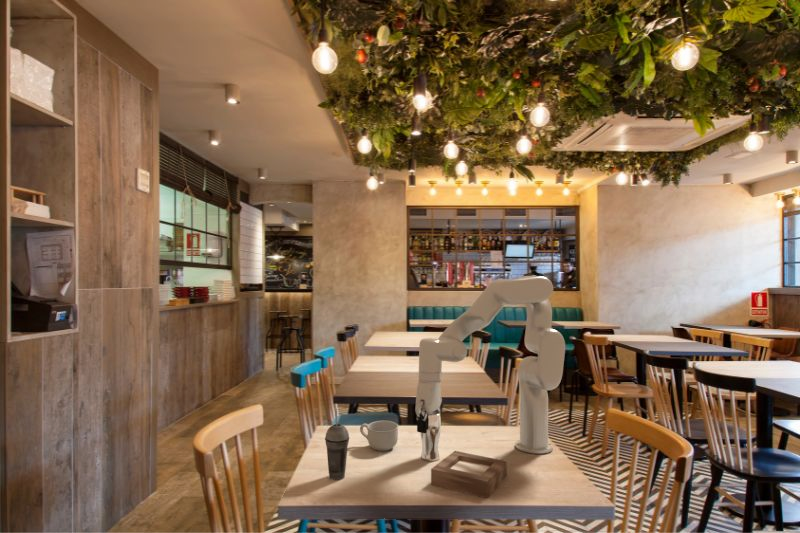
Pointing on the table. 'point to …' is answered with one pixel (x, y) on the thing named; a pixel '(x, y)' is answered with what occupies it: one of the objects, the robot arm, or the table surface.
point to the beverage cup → (337, 450)
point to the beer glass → (431, 437)
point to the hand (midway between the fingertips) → (428, 428)
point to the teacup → (381, 434)
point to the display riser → (469, 473)
